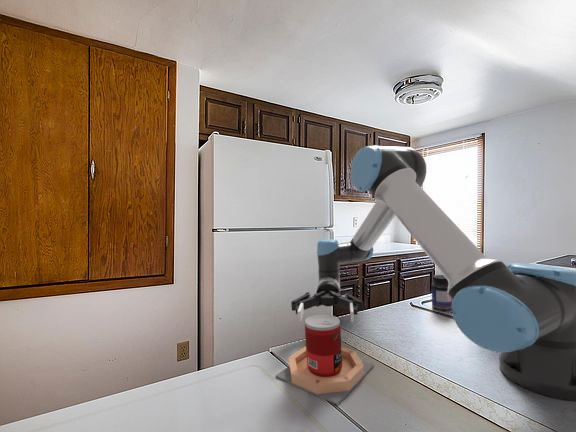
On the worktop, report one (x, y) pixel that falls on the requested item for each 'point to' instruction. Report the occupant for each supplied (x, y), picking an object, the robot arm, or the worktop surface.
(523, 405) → the worktop surface
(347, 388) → the bowl
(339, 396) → the mat
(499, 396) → the worktop surface
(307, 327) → the canned food
